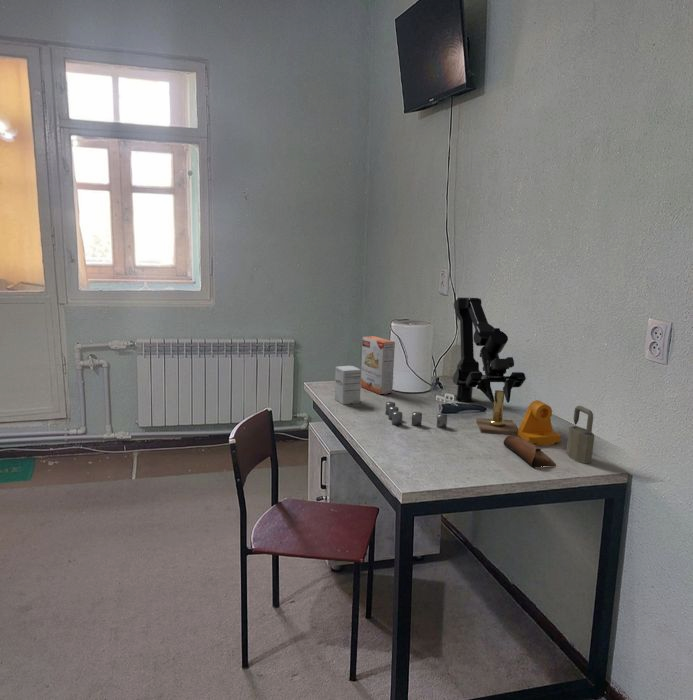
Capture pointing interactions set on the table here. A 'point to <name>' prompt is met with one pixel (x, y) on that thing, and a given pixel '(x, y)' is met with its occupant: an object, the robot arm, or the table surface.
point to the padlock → (581, 438)
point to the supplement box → (347, 384)
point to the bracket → (538, 425)
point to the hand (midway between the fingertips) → (500, 402)
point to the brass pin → (498, 409)
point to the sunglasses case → (528, 451)
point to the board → (496, 427)
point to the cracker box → (377, 364)
